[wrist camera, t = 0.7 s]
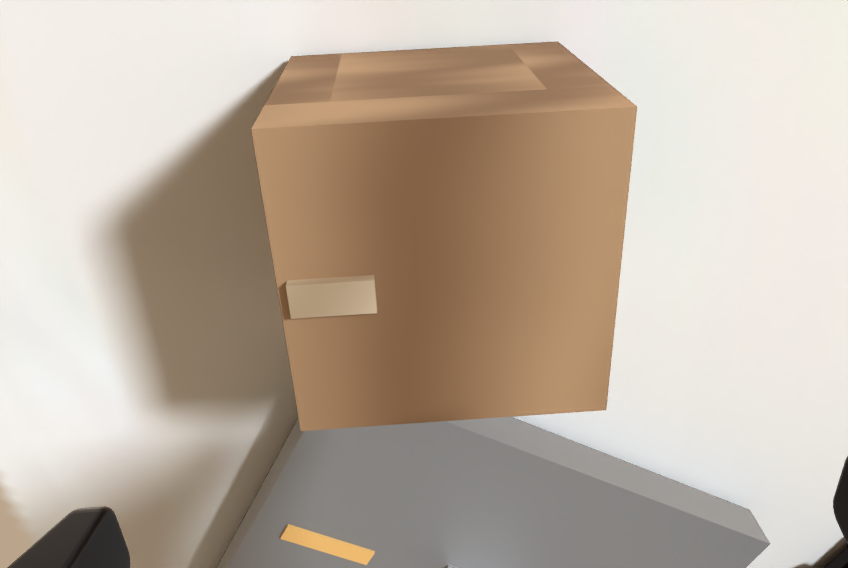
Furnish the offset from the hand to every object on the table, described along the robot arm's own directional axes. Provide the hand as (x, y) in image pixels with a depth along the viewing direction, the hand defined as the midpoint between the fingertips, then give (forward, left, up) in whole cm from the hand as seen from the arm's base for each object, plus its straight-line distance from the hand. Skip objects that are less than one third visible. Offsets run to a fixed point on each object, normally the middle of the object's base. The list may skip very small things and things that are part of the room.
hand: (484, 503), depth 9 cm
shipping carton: (0, 0, -11) cm, 11 cm away
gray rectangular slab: (-8, +12, -11) cm, 18 cm away
